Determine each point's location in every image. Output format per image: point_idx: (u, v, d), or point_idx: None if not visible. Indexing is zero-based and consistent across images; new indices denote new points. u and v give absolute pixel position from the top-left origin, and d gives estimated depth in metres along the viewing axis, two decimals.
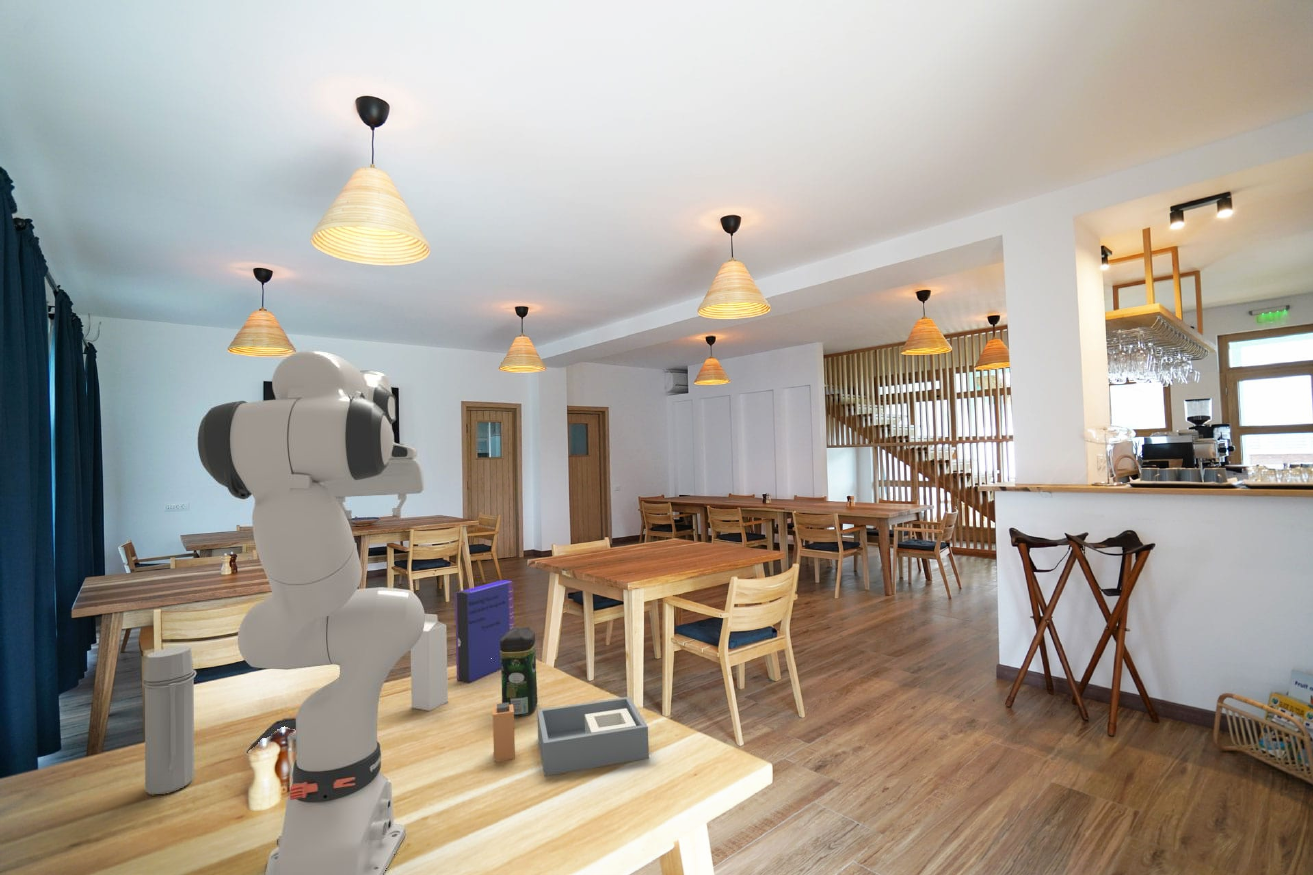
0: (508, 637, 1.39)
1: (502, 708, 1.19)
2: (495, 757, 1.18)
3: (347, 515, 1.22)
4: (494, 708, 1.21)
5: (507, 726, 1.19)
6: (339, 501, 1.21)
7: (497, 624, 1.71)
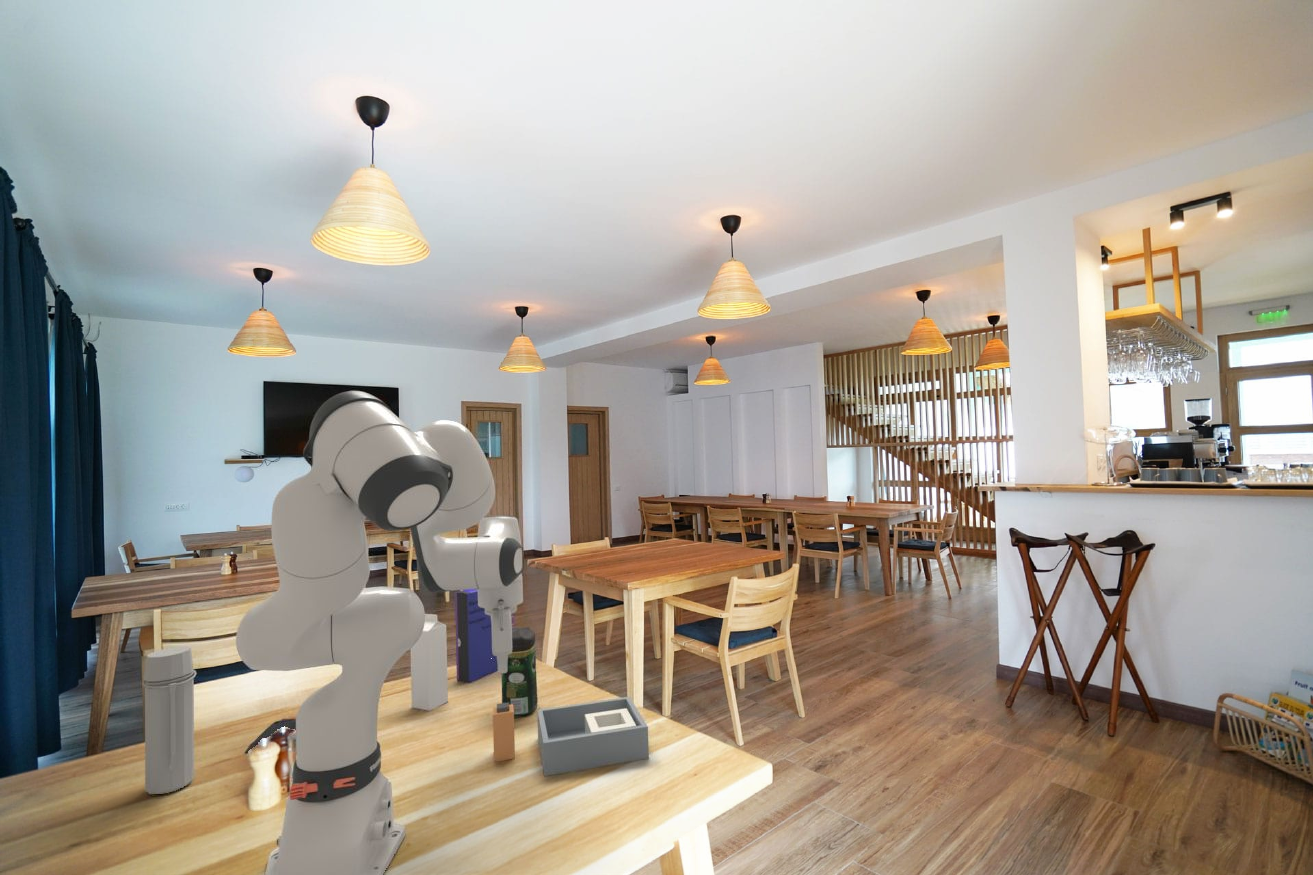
0: None
1: (502, 708, 1.19)
2: (495, 757, 1.18)
3: None
4: (494, 708, 1.21)
5: (507, 726, 1.19)
6: None
7: None
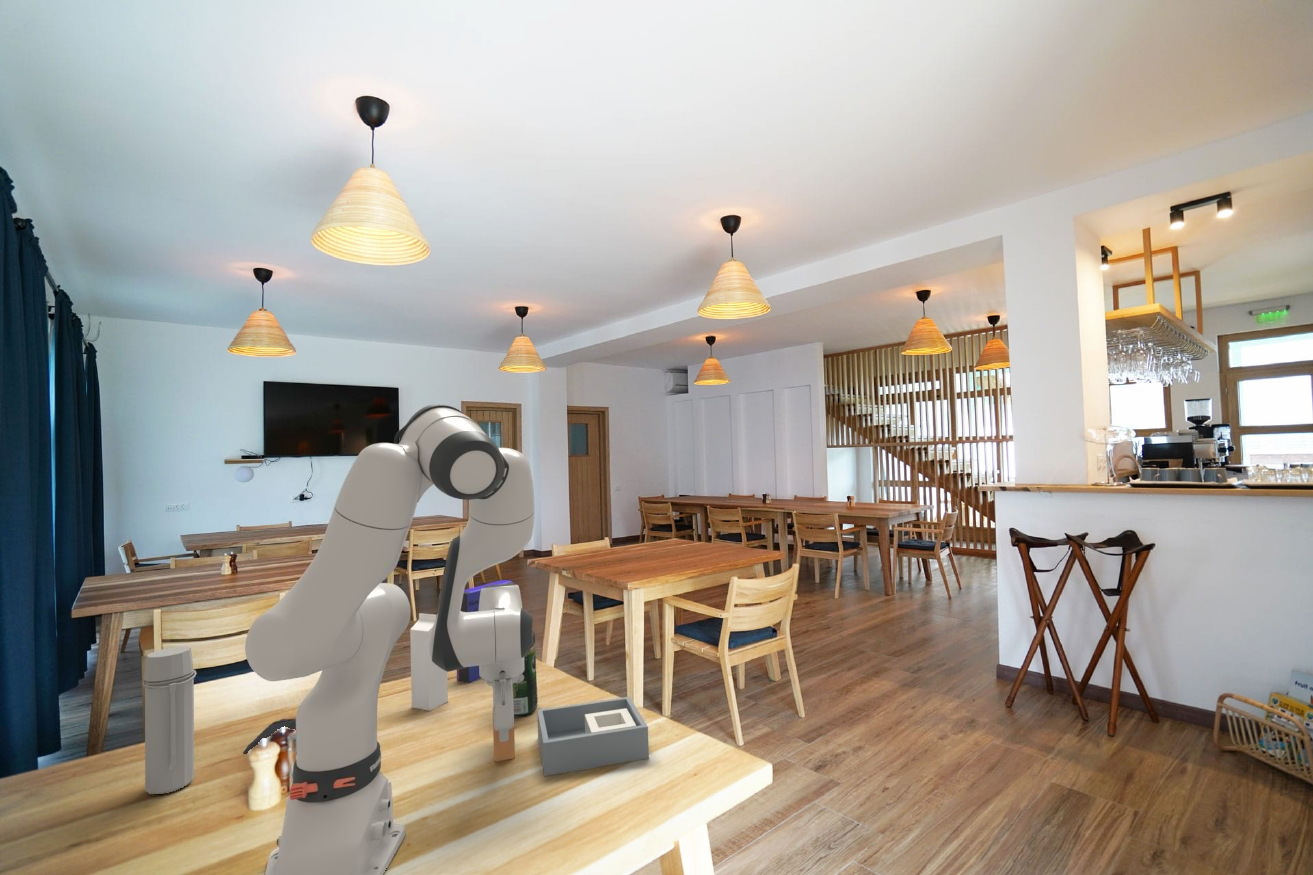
0: None
1: None
2: (495, 757, 1.18)
3: None
4: None
5: None
6: None
7: None
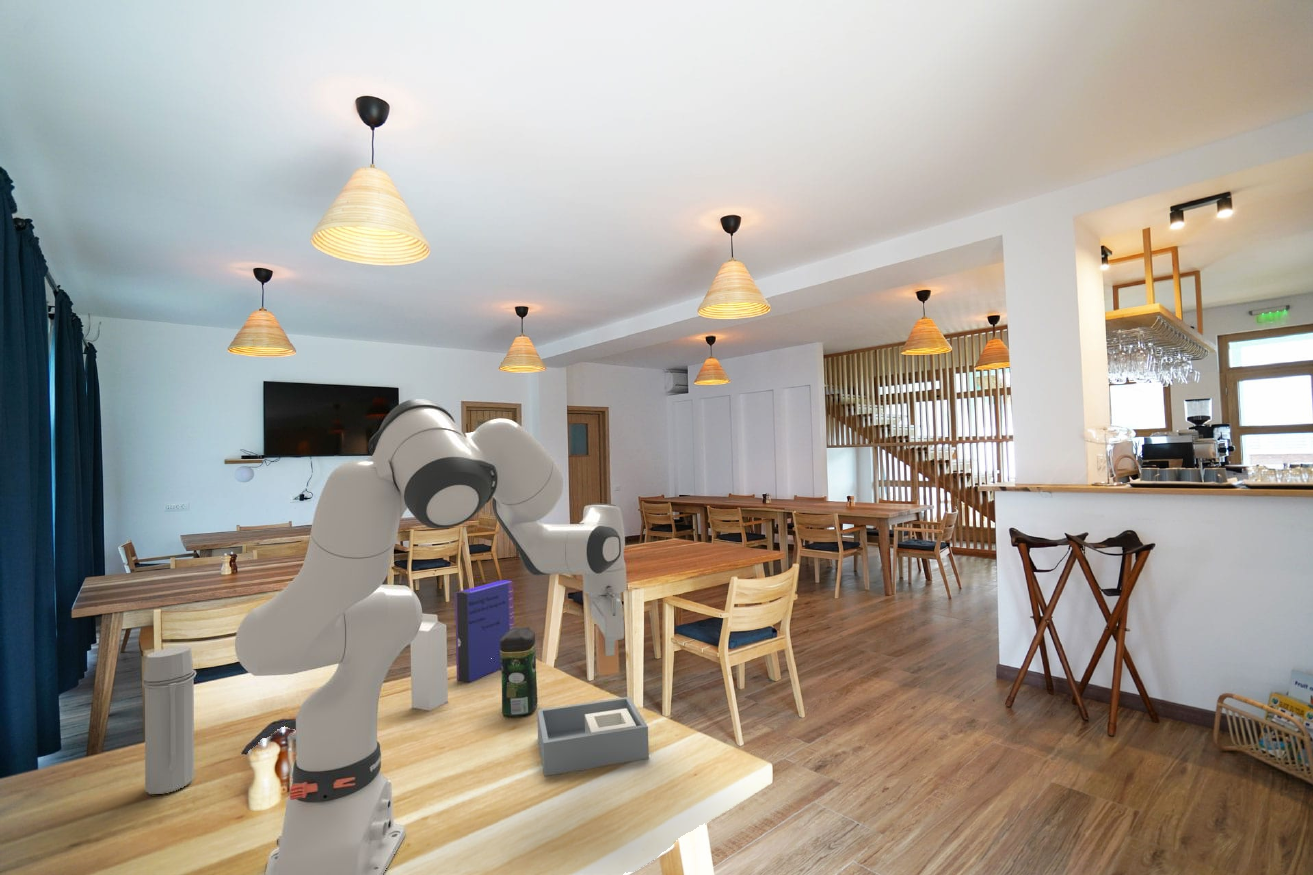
0: (508, 637, 1.39)
1: None
2: (600, 671, 1.20)
3: None
4: (597, 626, 1.24)
5: None
6: None
7: (497, 624, 1.71)
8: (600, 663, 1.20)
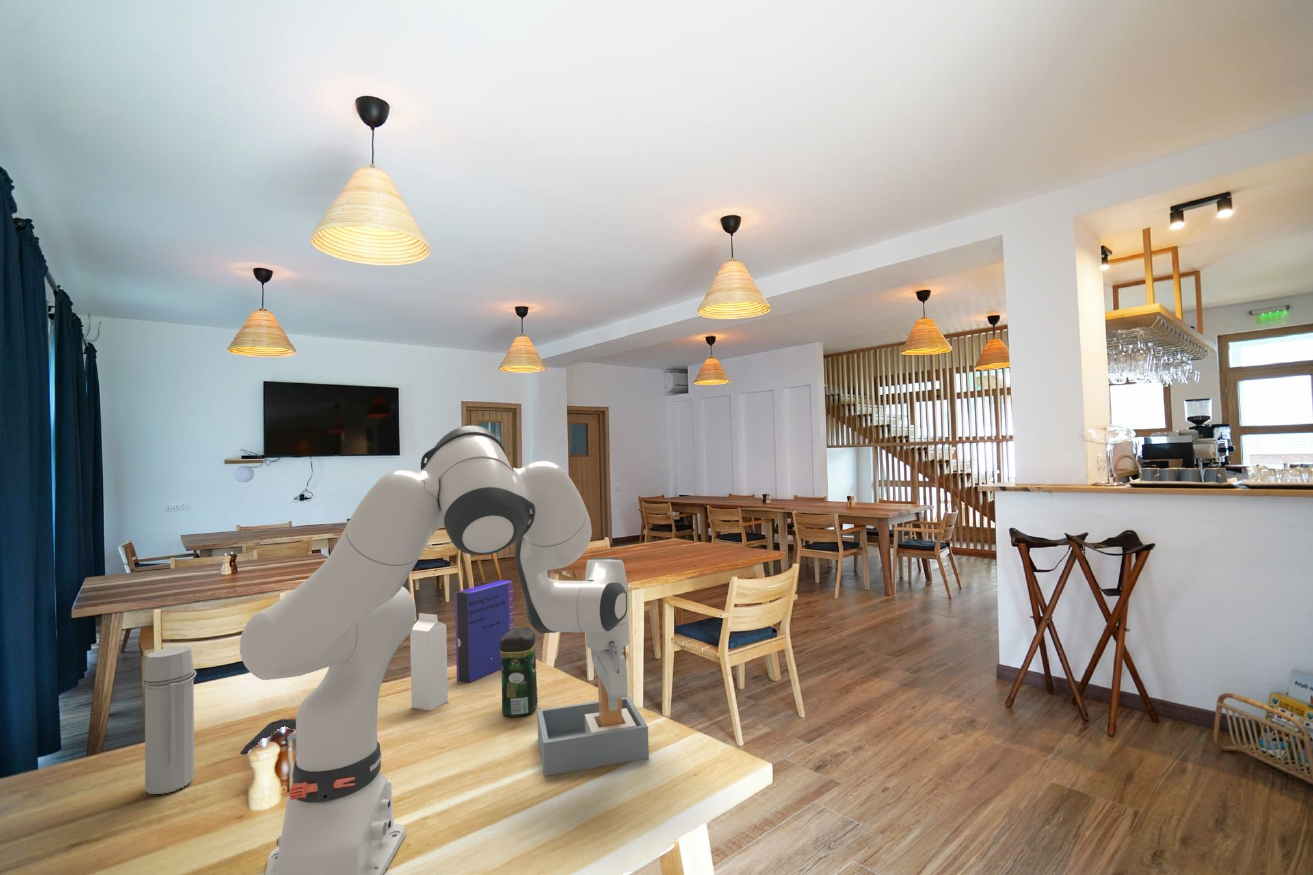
0: (508, 637, 1.39)
1: None
2: (604, 726, 1.20)
3: None
4: None
5: None
6: None
7: (497, 624, 1.71)
8: (603, 718, 1.20)
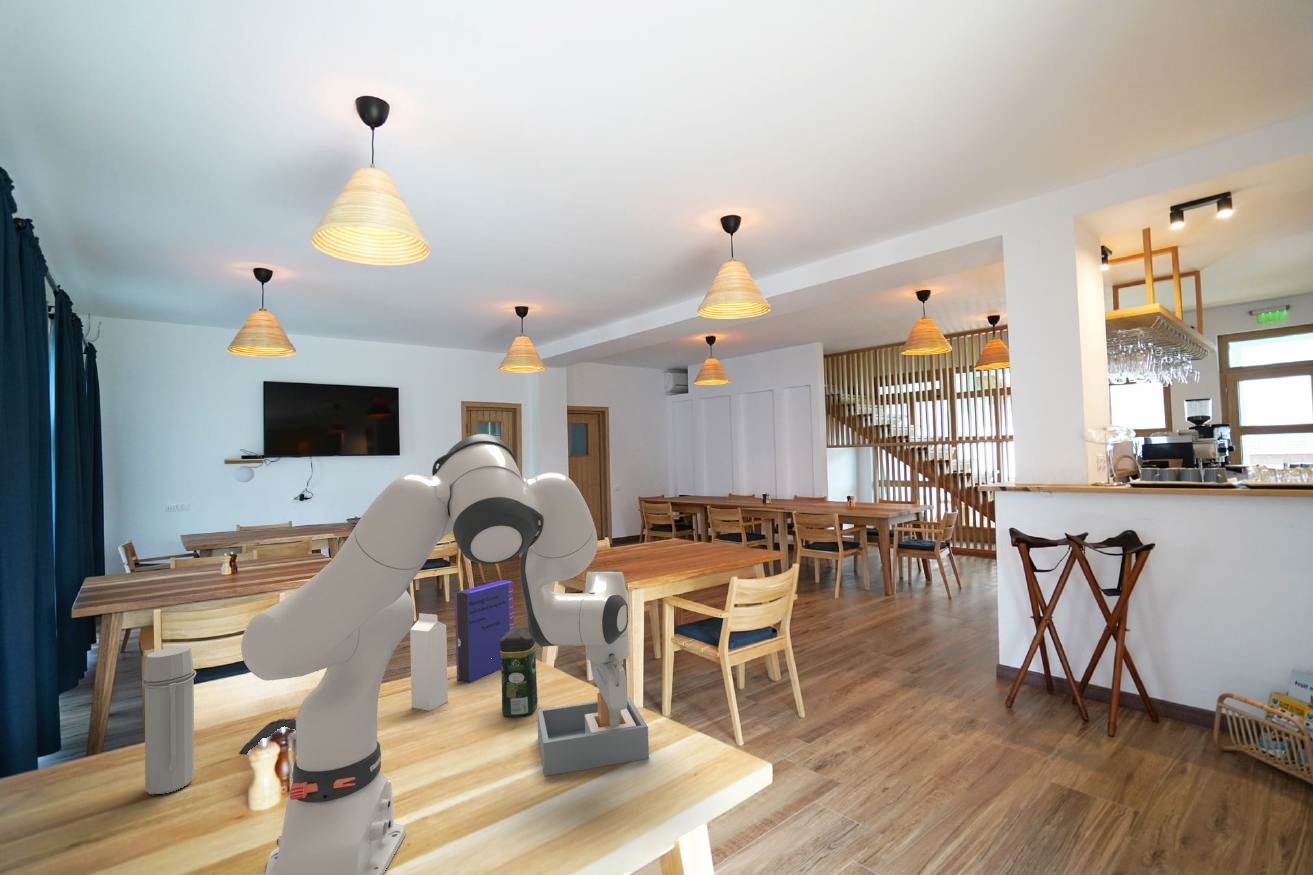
0: (508, 637, 1.39)
1: None
2: None
3: None
4: (599, 694, 1.24)
5: None
6: None
7: (497, 624, 1.71)
8: None
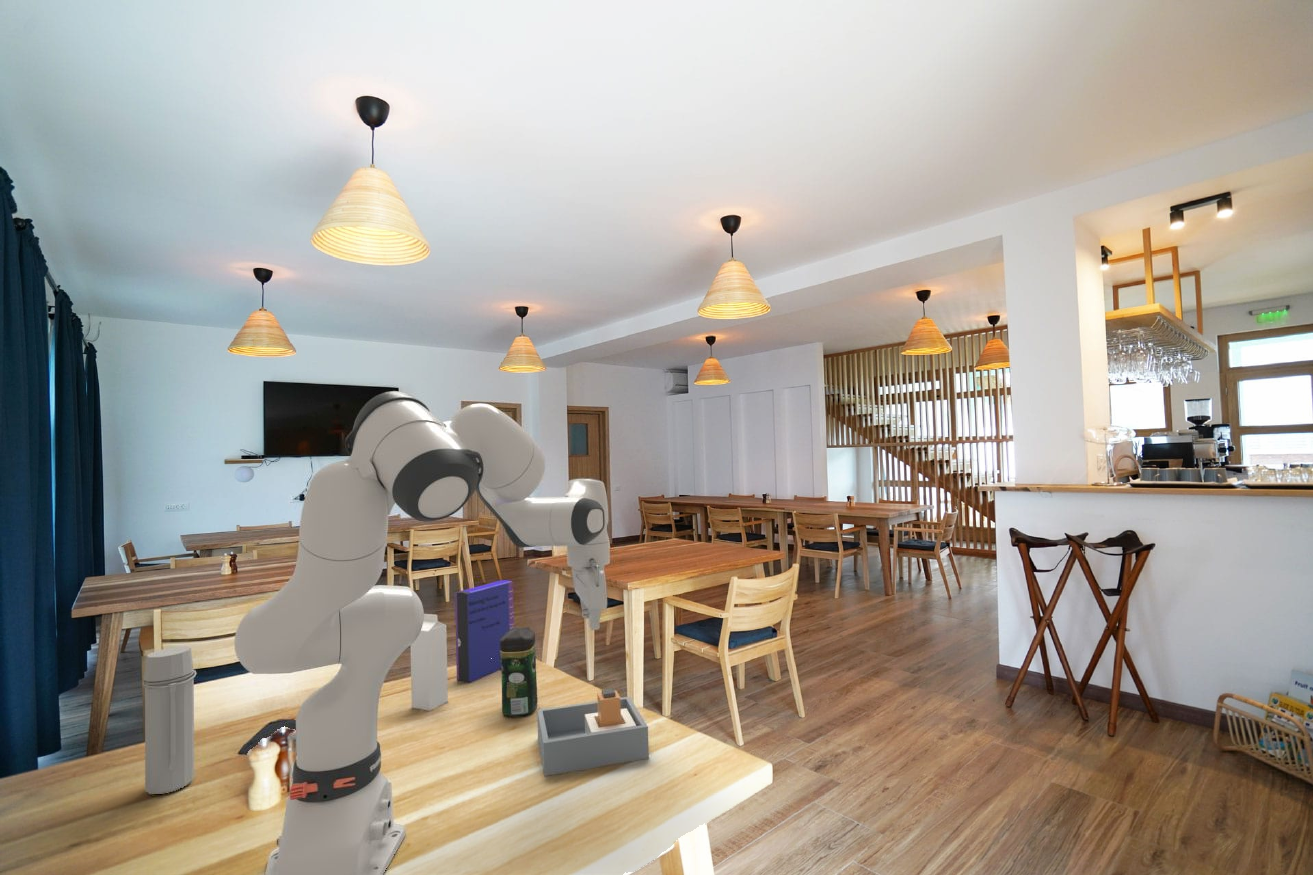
0: (508, 637, 1.39)
1: (608, 694, 1.22)
2: None
3: None
4: (599, 694, 1.24)
5: (614, 711, 1.21)
6: None
7: (497, 624, 1.71)
8: None
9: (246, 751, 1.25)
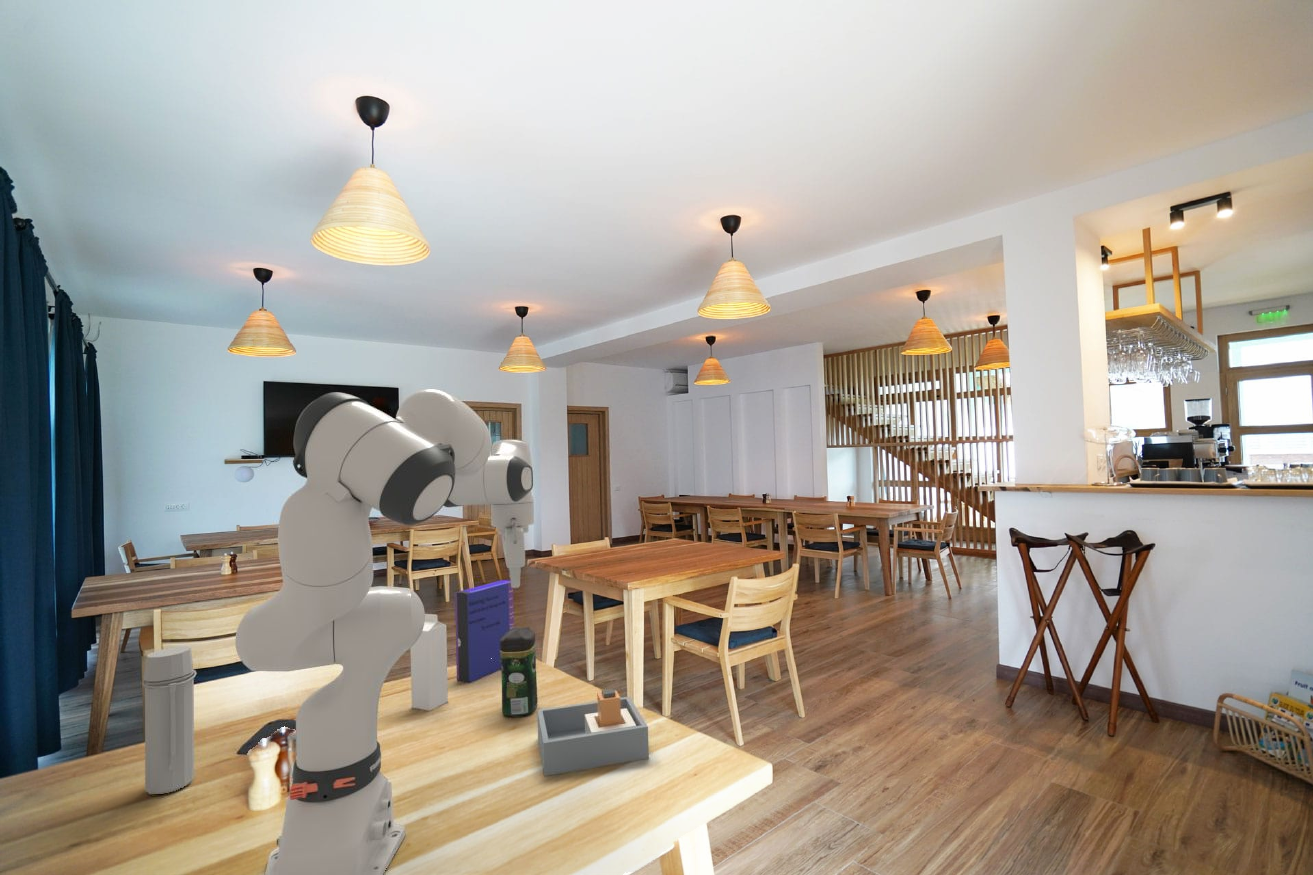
0: (508, 637, 1.39)
1: (608, 694, 1.22)
2: None
3: None
4: (599, 694, 1.24)
5: (614, 711, 1.21)
6: (520, 568, 1.21)
7: (497, 624, 1.71)
8: None
9: (245, 751, 1.25)
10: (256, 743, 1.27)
